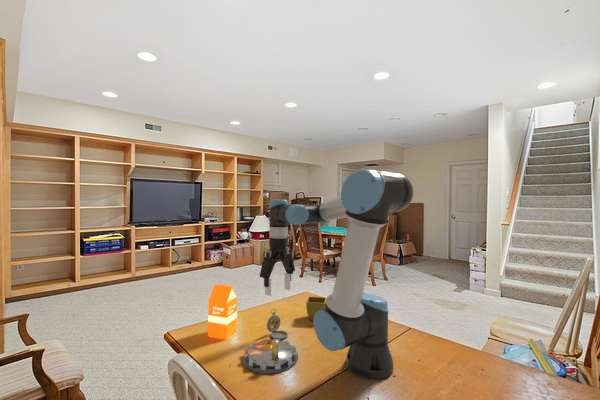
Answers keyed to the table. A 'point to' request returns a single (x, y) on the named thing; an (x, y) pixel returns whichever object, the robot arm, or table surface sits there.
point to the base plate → (272, 370)
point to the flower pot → (314, 305)
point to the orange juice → (222, 312)
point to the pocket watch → (275, 327)
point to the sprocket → (270, 354)
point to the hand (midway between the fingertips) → (277, 291)
